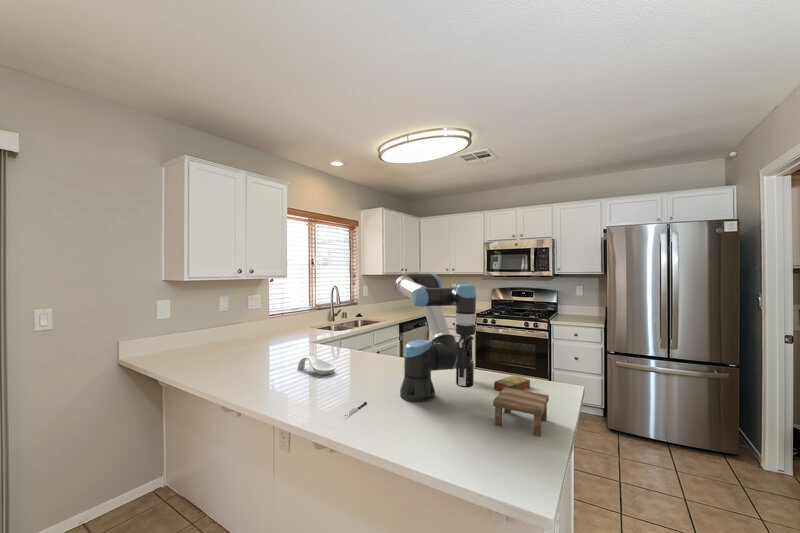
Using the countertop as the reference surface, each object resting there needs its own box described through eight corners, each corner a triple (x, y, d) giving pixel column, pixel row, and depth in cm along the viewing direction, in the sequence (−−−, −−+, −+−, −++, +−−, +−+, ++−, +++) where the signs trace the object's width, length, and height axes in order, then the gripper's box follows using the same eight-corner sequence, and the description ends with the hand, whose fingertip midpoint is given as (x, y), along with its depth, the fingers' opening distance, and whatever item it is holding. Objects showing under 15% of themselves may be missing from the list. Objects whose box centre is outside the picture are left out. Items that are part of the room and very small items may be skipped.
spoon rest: (340, 372, 183) (340, 359, 183) (324, 378, 173) (324, 364, 173) (308, 365, 195) (308, 353, 195) (291, 371, 185) (292, 357, 185)
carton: (530, 388, 162) (530, 379, 162) (508, 395, 152) (508, 385, 152) (515, 383, 169) (515, 374, 168) (493, 389, 159) (493, 380, 159)
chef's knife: (334, 422, 125) (341, 423, 124) (334, 419, 125) (340, 420, 124) (361, 403, 143) (367, 404, 141) (361, 400, 143) (367, 401, 142)
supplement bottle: (454, 381, 139) (454, 352, 139) (470, 381, 140) (471, 352, 140) (458, 388, 132) (458, 356, 132) (475, 387, 133) (476, 356, 133)
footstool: (541, 437, 114) (541, 410, 114) (493, 425, 122) (493, 400, 122) (548, 419, 128) (548, 395, 128) (504, 409, 136) (504, 387, 136)
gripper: (468, 329, 125) (467, 392, 125) (480, 320, 143) (480, 376, 143) (448, 327, 128) (447, 388, 129) (463, 319, 146) (462, 373, 146)
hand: (464, 382), depth 136 cm, fingers closed on supplement bottle, 7 cm apart
